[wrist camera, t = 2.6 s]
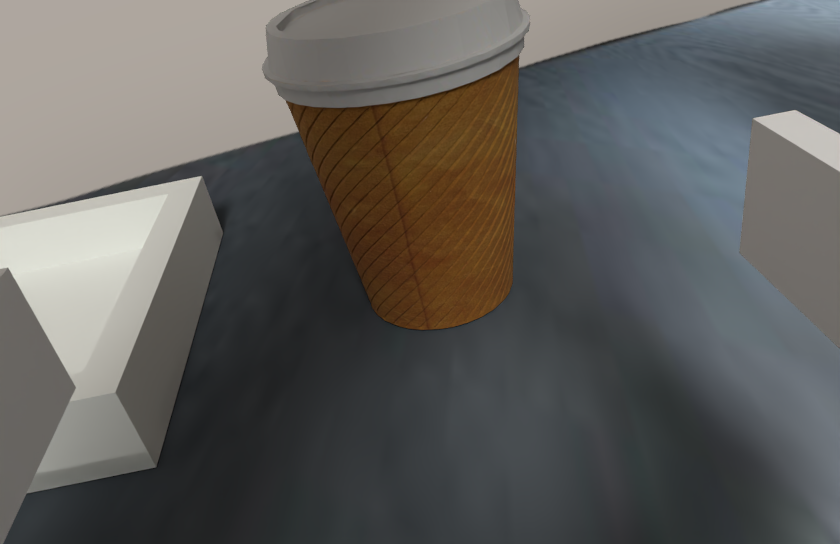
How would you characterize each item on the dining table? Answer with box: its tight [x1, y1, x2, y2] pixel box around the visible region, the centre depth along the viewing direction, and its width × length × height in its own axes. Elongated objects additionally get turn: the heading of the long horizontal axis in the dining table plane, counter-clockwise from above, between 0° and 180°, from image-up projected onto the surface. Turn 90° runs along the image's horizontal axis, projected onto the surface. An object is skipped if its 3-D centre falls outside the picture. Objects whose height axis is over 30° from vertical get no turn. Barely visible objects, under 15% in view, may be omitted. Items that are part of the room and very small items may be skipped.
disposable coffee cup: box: [262, 0, 530, 330], centre depth 27 cm, size 10×10×12 cm
